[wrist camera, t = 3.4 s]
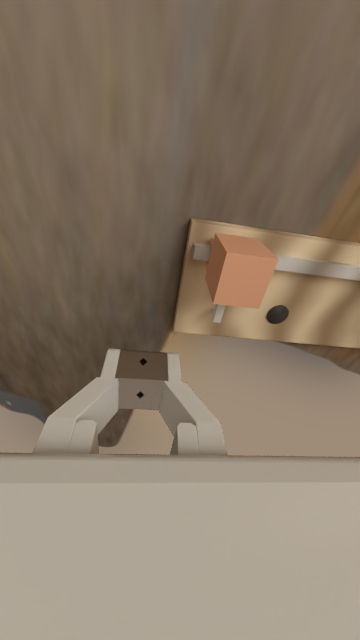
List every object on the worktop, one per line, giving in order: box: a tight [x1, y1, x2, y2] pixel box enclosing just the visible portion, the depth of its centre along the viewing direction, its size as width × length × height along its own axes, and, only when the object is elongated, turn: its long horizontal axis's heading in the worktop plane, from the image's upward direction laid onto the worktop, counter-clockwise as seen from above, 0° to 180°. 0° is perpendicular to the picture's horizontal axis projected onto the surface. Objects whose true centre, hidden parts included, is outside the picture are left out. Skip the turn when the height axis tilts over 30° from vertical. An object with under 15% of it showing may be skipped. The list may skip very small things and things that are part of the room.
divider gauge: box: [173, 218, 360, 348], centre depth 26 cm, size 28×13×8 cm, turn 81°
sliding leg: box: [205, 233, 279, 323], centre depth 23 cm, size 4×9×6 cm, turn 171°
